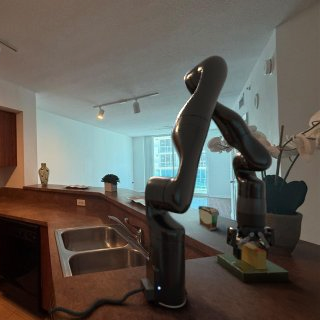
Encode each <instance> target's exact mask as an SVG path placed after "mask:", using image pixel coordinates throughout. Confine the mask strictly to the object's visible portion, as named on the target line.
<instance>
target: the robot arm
mask: <svg viewBox="0 0 320 320" xmlns="http://www.w3.org/2000/svg"><path fill="white" fill-rule="evenodd" d="M228 68H229V67H228V63H227V61H226V59H225V58H224V57H223V56H221V55H218V54H217V55H216V54H215V55H210V56H208V57H206V58H204V59H203V60H201V61H200V62H199V63H197V64H196V65H195V66H193V67H192V68H191V69H190V70H188V71H187V72H186V73H185V75H184V78H183V83H184V86H185V88H186V90H187V92H188V93H189V95H190V98H189V99H188V100H187V101H186V103H185V104H184V106H183V107H182V108H181V110H180V111H179V113H178V114H177V116H176V119H175V121H174V124H173V127H172V130H171V133H170V139H171V143H172V145H173V148H174V150H175V152H176V154H177V158H178V168H177V172H176V175H175V177H174V176H164V175H153V176H151V177H150V178H149V179H148V180H147V182H146V184H145V187H144V208H145V209H144V210H145V223H146V226H147V228H148V231H147V232H148V256H147V257H145V277H140V278H139V279H140V281H139V282H140V284H139V285H140V287H138V288H135V289H133V290H130V291H128V292H126V294H125V295H123V296H122V298H118V299H113V298H107V297H106V298H103V297H102V298H98V299H96V300H95V301H93V302H92V303H91V305H90V306H89V307H88V308H87V309H85V310H83V311H74V310H72V309H69V308H66V307H64V306H55V307H52V309H50V310H49V311H48V315H53V314H54V313H56V312H63V313H64V314H67V315H70V316H72V317H84V316H86V315H88V314H89V313H90V312H92V311H93V310H94V308H95V307H96V306H97V305H100V304H102V303H107V304H108V303H109V304H114V305H115V304H116V305H117V304H122V303H124V302H126V301H127V300H128V298H129V297H131V296H133V295H135V294H139V293H142V294H143V297H144V298H145V300H146V301H152V303H153V305H155V306H160V307H162V308H166V309H168V310H169V309H170V310H179V309H182V308H183V307H185V305H186V303H187V297H188V291H187V289H186V229H185V226H184V225H183V224H182V223H181V222H179V221H177V220H176V219H175V218H174V217H173V216H172V215H171V214H170V213H172V214H177V215H184V214H186V213H187V212H188V211H189V209H190V208H191V205H192V203H193V199H194V195H195V191H196V183H197V178H198V172H199V166H200V163H201V158H202V154H203V150H204V147H205V144H206V141H207V139H208V138H207V137H208V134H209V131H210V127H211V122H213V123H214V125H215V126H216V128H217V129H218V130H219V133H220V135H221V137H222V138H223V139H224V142H225V143H226V145H227V146H228V147H229V148H232V149H235V150H237V152H236V153H234V155H233V157H232V161H231V164H232V170H233V174H234V178H235V180H236V200H235V222H236V224H237V226H236V227H232V226H227V229H226V244H227V245H229V246H230V247H232V254H233V256H234V257H235V258H236V259H238V260H242V249H241V248H242V246H243V245H244V244H247V242H248V243H251V242H255V243H258V248H260V249H263V250H265V251H266V260H268V258H269V249H270V247H275V246H276V238H275V237H276V236H275V235H276V234H275V229H274V228H273V227H270V226H268V225H267V202H266V201H267V200H266V195H267V194H266V192H267V191H266V182H265V180H263V179H261V178H259V177H258V176H257V173H259V172H260V173H261V172H266V171H268V170H269V169H270V168H271V166H272V165H273V157H272V154H271V153H270V151H269V150H268V148H267V147H266V146H265V145H264V144H263V143H261V141H260V140H259V139H258V138H257V137H255V136H254V135H253V133H252V131H251V130H250V128H249V125H248V124H247V123H246V121H245V119H244V118H243V116H241V114H240V113H238V111H235V110H234V109H231V108H230V107H228V106H226V105H224V104H222V103H221V102H220V101H218V99H219V96H220V95H221V92H222V90H223V87H224V85H225V83H226V80H227V78H228V74H229V73H228V72H229V69H228ZM238 242H239V244H238Z"/></svg>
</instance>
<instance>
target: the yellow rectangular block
mask: <svg viewBox="0 0 320 320" xmlns="http://www.w3.org/2000/svg"><path fill="white" fill-rule="evenodd" d="M238 244H239V242H238ZM241 249H242V260H243V261H245V262H246V263H248V264H250V265H251V266H253V267H254V268H256V269H266V260H267V259H266V251H265V250H263V249H260V248H259V246H256V245H254V244H251V242H247V244H244V245H243V246H242V248H241Z"/></svg>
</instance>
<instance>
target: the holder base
mask: <svg viewBox="0 0 320 320" xmlns="http://www.w3.org/2000/svg"><path fill="white" fill-rule="evenodd" d="M216 257H217V258H216V260H217V261H216V262H217V264H218V265H220V266H221V267H223V268H224V269H225V270H226V271H228V272H229V273H230V274H231V275H233V276H234V277H236V278H237V279H238V280H239V281H241V282H242V283H244V284H245V283H247V284H248V283H250V284H251V283H275V282H277V283H278V282H279V283H281V282H289V281H290V278H289V275H290V273H289V272H290V271H288V270H286V269H285V268H283V267H282V266H279V265H278V264H275V263H274V262H273V261H270V260H268V259H266V269H256V268H254V267H253V266H251V265H250V264H248V263H246V262H245V261H243V260H238V259H236V258H235V257H234V256H233V253H226V254H225V253H223V254H217V256H216Z"/></svg>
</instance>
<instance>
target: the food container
mask: <svg viewBox="0 0 320 320" xmlns="http://www.w3.org/2000/svg"><path fill="white" fill-rule="evenodd" d="M218 216H220V211H219V209H217V208H215V207H211V206H205V205H199V206H198V218H199V225H200V226H202V227H203V228H206V230H208V231H210V232H215V231H216V230H217V226H218Z"/></svg>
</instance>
